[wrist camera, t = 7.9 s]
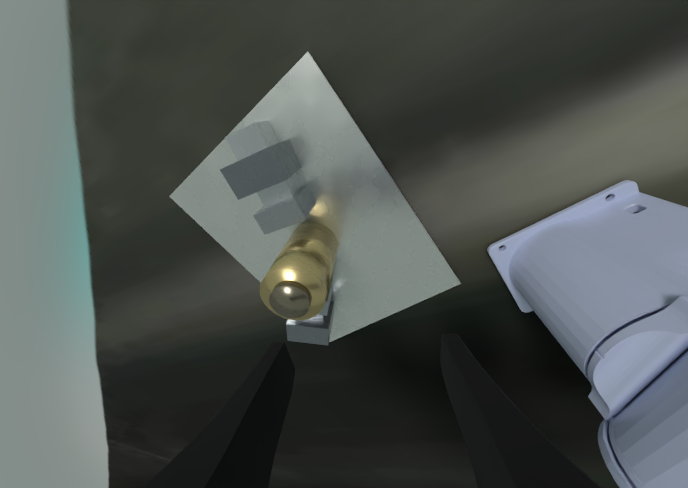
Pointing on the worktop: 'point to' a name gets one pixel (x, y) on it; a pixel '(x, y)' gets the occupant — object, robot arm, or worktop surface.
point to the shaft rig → (316, 205)
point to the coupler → (301, 273)
